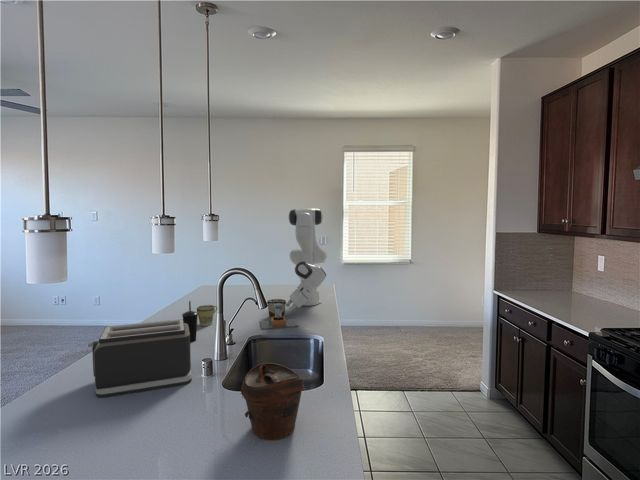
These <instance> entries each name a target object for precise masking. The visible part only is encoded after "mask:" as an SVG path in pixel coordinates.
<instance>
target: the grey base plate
mask: <svg viewBox="0 0 640 480" xmlns="http://www.w3.org/2000/svg"><path fill="white" fill-rule="evenodd" d="M259 324H260V328H261V330H272V329H287V328H288V329H289V328H298V327H299V326H298V324H297V322H296V321H295V319H294V318H293V319H286V317H285V316H283V317H282V320H275V317H270V320H266V321H265V320H263V321H259Z"/></svg>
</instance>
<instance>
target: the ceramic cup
mask: <svg viewBox="0 0 640 480" xmlns="http://www.w3.org/2000/svg"><path fill="white" fill-rule="evenodd" d="M217 310H218V306H217V305H212V304H205V305H199V306H196V312H197V313H198V317H197V318H198V321H199V325H200V326H202V327H204V326H205V327H207V326H210V325H212V324H213V320H214V314H215V313H216V312H217Z"/></svg>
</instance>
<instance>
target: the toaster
mask: <svg viewBox="0 0 640 480" xmlns="http://www.w3.org/2000/svg"><path fill="white" fill-rule="evenodd" d="M87 347H88V348H89V347H92V368H93V369H92V372H93V377H94V386H95V396H96V398H110V397H116V396H122V395H128V394H136V393H142V392H147V391H148V392H149V391H153V390H154V391H155V390H160V389H167V388H174V387H179V386H186V385H188V384H190V383H191V382H192V380H193V376H192V375H193V374H192V365H191V364H192V363H191V362H192V361H191V356H192V354H191V342H190V332H189V327H188V324H186V323H184V320H183V318H179V319H178V318H177V319H172V320H171V319H169V320H160V321H158V320H157V321H150V322H148V321H147V322H137V323H128V324H119V325H118V324H117V325H107V326H105V328H104V329H103V331H102V333H101V335H100V337H99V339H98V341H92V342H88V343H87Z"/></svg>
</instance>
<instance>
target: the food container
mask: <svg viewBox="0 0 640 480" xmlns="http://www.w3.org/2000/svg"><path fill="white" fill-rule="evenodd" d="M279 303H281V304H282V307H281V315H282V317H283V316H284V317H285V315H286V304H287V303H288V302H287V301H286V300H285V299H282V298H274V299H269V300H267V301H266V305H267V310H268V316H269V317H268V318H271V317H275V306H274V304H279Z"/></svg>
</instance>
